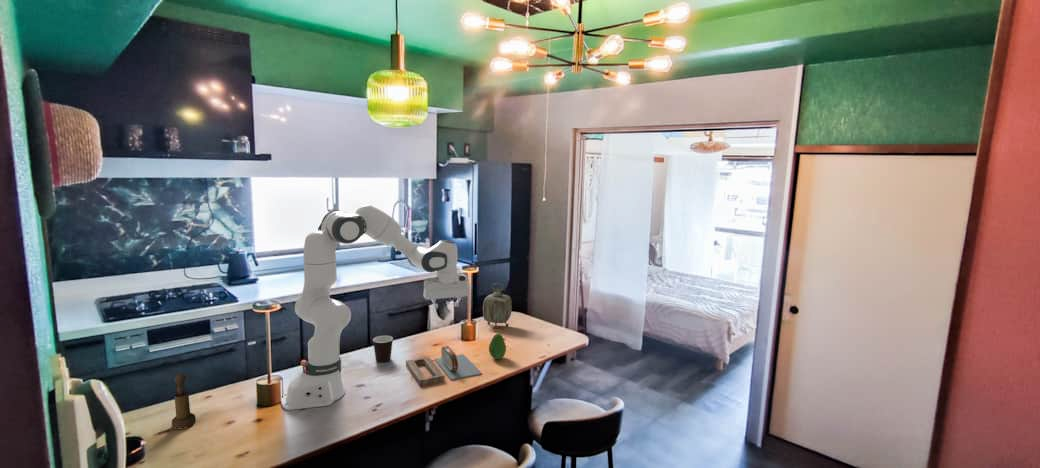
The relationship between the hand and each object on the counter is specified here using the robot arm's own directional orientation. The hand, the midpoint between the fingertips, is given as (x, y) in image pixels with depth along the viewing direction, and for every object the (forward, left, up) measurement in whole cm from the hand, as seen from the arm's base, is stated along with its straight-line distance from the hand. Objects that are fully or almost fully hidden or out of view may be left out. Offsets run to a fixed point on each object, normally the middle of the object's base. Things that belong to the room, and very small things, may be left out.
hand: (446, 307), depth 212 cm
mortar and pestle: (-96, -9, -27) cm, 101 cm away
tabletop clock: (+41, +34, -27) cm, 60 cm away
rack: (-11, -5, -27) cm, 29 cm away
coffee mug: (-23, +17, -27) cm, 39 cm away
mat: (+4, -5, -27) cm, 27 cm away
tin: (0, -5, -26) cm, 27 cm away
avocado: (+24, -4, -27) cm, 36 cm away
